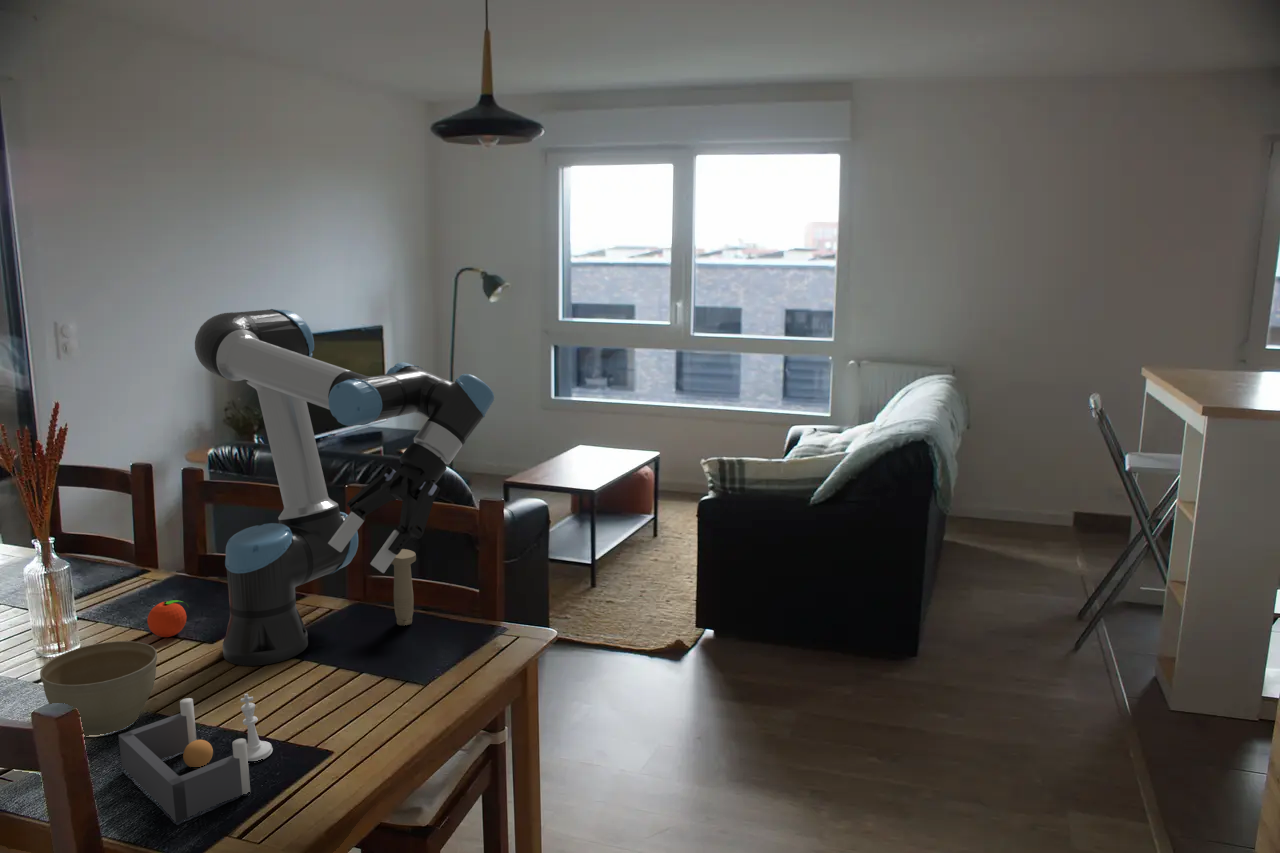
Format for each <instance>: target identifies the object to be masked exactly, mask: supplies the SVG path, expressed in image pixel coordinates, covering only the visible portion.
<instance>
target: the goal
mask: <svg viewBox="0 0 1280 853" xmlns="http://www.w3.org/2000/svg"><path fill="white" fill-rule="evenodd" d="M179 707H180V713H177V714H174V715H171V716H168V717H166V718H163V719H159V720H157V721H155V722H152V723H148V724H146V725H143V726H140V727H137V728H134V729H131V730H129V731H126V732H123V733H120V734H118V744H119V745H118V746H119V753H120V762H121V768H122V767H123V768H124V769H125V770H126V771H127V772H128V773H129V774H130V775H131V776H132V777H133V778H134V779H135V780H136V781H137V782H138V784H140V785H141V787H143V789H145V790H146V791H147V792H148V793H149V794H150V795H151V796H152V797H153V798H154V799H155V800H156V801H157V802H158V803H159V804H160V805H161V806H162V807H163V809H164V810H165V811H166V812H167V813H168V814H169V815H170V816H171V818H172V819H173V820H174V821H175V822H177V821H180V820H182V819H185V818H187V817H190V816H192V815H195V814H197V813H198V812H199V811H203V810H205V809H206V808H210V807H211V806H215V805H216V804H219V803H222V802H224V801H227V800H230V799H233V798H234V797H238V796H240V795H243V794H247V793H248V792H250V793H251V785H250V784H251V783H250V770H249V763H248V755H247V743H248V742H247V739H246V738H237V739H235V740H233V741H232V743H231V744H232V755H230V756H228V757H225V758H222V759H220V760H217V761H215V762H211V763H208V764H206V765H205V766H203V767H200V768H196V769H194V770H192V771H190V772H187V773H185V774H182V775H179V774H177V773H176V771H174V770H173V769H171V767H170V766H168V765H167V764H166V763H165V762H163V761H162V760H161V759H162V758H164V757H168V756H172V755H175V754H177V753H180V752H183V751H184V750H185V748H186V747H187V745H188V744H190V743H191V742H193V741H195V740H198V739H197V730H196V721H195V720H196V718H195V707H194V698H192V697H191V698H190V697H188V698H187V697H186V698H183V699H180V701H179Z"/></svg>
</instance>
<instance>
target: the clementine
mask: <svg viewBox="0 0 1280 853" xmlns="http://www.w3.org/2000/svg"><path fill="white" fill-rule="evenodd" d="M178 602H179V603H178ZM180 603H184V604H186V606H187V608H190V606H189V605H188V604H187V602H184V601H181V600H177V599H176V600H175V599H174V600H173V599H172V600H168V601H162V602H159V603H158V604H156V605H155V606H154V607H152V609H151V610H150V611H149V613H148V615H147V621H146V622H147V626H148V629H149V631H150V632H151V633H153V634H154V635H155V636H157V637H161V638H169V637H173V636H175V635H178V634H179V633H180V632H182V630H183V629H184V627H185V625H186V624H187V618H188V616H187V612H186V610H185V608H184V607H183V606H182V605H181V604H180Z"/></svg>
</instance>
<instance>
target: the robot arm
mask: <svg viewBox="0 0 1280 853" xmlns="http://www.w3.org/2000/svg"><path fill="white" fill-rule="evenodd" d="M314 340H315V339H314V335H313V333H312V330H311V328H310V326H309V325H308V323H307V322H306V321H305V320H304V318H302V316H300V315H298V314H297V313H296V312H294V311H292V310H288V309H276V308H275V309H274V308H271V309H263V310H262V309H261V310H250V311H249V310H247V311H235V312H233V311H232V312H230V311H229V312H222V313H220V314H217V315H214V316H211V317H210V318H209V319H207V320H206V321H205V322H204V323H202V324H201V326H200V327H199V329H198V331H197V333H196V335H195V339H194V350H195V355H196V356H197V359H198V361H199V363H200V364H201V366H203V367H204V368H205V369H206V370H207V371H208V372H210V373H212V374H213V375H216V376H218V377H221V378H223V379H226V380H229V381H232V382H240V381H244V380H245V382H246V384H247V385H248V386H250V387H252V388H253V389H255V390H256V392H257V397H258V401H259V405H260V410H261V414H262V418H263V422H264V428H265V431H266V435H267V440H268V443H269V449H270V452H271V457H272V462H273V465H274V470H275V473H276V477H277V483H278V486H279V491H280V495H281V500H282V504H283V510H282V512H281V513H280V514H279V516H278V517H277V518H278V523H277V522H270V523H263V524H261V525H258V524H257V525H253V526H250V527H246V528H244V529H241V530H240V531H238V532H236V533H235V534H233V535H232V536H231V537H230V538H229V539H228V540H227V543H226V546H225V560H224V567H225V568H226V577H227V578H226V579H227V589H228V601H229V602H228V603H229V618H228V619H229V621H228V623H227V629H226V634H225V637H224V638H223V642H222V653H223V658H224V660H225V661H226V662H228V663H231V664H233V665H237V666H249V667H250V666H251V667H255V666H265V665H271V664H277V663H280V662H284V661H287V660H290V659H291V658H294V657H296V656H298V655H299V654H301V653H303V652H304V651H305V650H306V649H307V647H308V646H309V635H308V630H307V628H306V626H305V624H304V622H303V620H302V616H301V615H300V612H299V610H298V608H297V601H296V587H298V586H301V585H304V584H306V583H307V584H308V583H309V582H311V581H313V580H317V579H319V578H321V577H324V576H327V575H333V574H335V573H336V572H338V571H339V570H340V569H343V568H345V567H346V566H348V565H349V564H350V563H351V562H352V561H353V558H354V557H355V556H356V553H357V551H358V549H359V548H358V547H359V533H358V530H359V529H360V527H361V526H362V525H363V523H364V522H365V521H366V516H368V515H369V514H371V513H372V512H374V511H376V510H378V509H379V508H381V507H382V506H384V505H386V504H387V503H389V502H391V501H392V502H394V501H396V500H398V501H401V510H400V517H399V525H398V526H396V527H395V529H393V531H392V532H391V533H390V535H389V536H388V537H387V539H386V541H385V542H384V544H383V545H382V547H381V548H380V549H379V551H378V552H377V553H376V555H375V556H374V557H373V559H372V560H371V562H370V563H369V564H370V566H372V567H374V569H375V570H378V571H379V572H380V573H382V574H385V572H386V571H387V569H388V568H389V567H390V565H392V564H391V562H392V561H393V560H394V558H395V557H396V555H398V554H399V553H400V551H401V550H402V549H404V547H405V546H406V544H407V543H408V542H409V540H413V539H414V538H417V539H418V540H419V539H421V538H422V537H423V535H424V532H425V530H426V526H427V523H428V520H429V517H430V514H431V511H432V508H433V504H434V501H435V499H436V498H437V496H438V495H439V492H440V490H441V488H440V487H439V486H438V485H437V483H438V482H439V480H440V479H441V478H442V476H443V474H444V473H445V472H446V471H447V465H450V464H452V461H453V459H455V457H456V456H457V454H458V453H459V451H460V450H461V448H462V447H463V446H464V444H465V443H466V441H467V439H468V438H469V437H470V436H471V435H472V433H473V432H474V430H475V429H476V428H477V426H478V425H479V424H480V423H481V422H482V420H483V419H484V418H485V417H486V414H487V413H488V411H489V409H490V407H491V405H492V404H493V403H494V401H495V394H494V392H493V391H492V388H491V387H490V386H489V385H488V384H487V383H486V382H484V381H483V380H482V379H480V378H479V377H477V376H476V375H473V374H470V373H462V374H461V375H459V377H458V378H457V379H455V381H451V380H448V379H445V378H443V377H441V376H439V375H437V374H435V373H433V372H430V371H428V370H426V369H424V368H423V367H421V366H419V365H416V364H412V363H408V362H403V361H402V362H398V363H396V364H395V365H394V366H392V367H390V368H389V369H388V370H387V371H386V373H385V374H380V375H373V376H368V375H365V374H361V373H358V372H355V371H352V370H349V369H346V368H344V367H341V366H339V365H335V364H331V363H328V362H326V361H323V360H319V359H316V358H314V357H313V356H314V355H313V352H314V350H315V341H314ZM308 403H310V404H313V405H315V406H317V407H321V408H324V409H326V410H329V411H330V413H331V415H332V417H334V418H335V419H336V421H337V423H339V424H341V425H343V426H348V427H353V426H366V425H369V424H371V423H375V422H379V421H382V420H387V419H392V418H396V417H401V416H405V415H409V414H414V413H416V414H419V415H421V416H424V417H426V418H428V419H427V421H425V423H424V424H423V425H422V427H421V428H420V430H419V431H418V432H417V433H416V434H415V436H414V437H413V442H412V443H409V445H408V446H407V447H406V448H405V450H404V451H403V453H402V455H401V456H400V457H399V462H400V465H401V467H400V468H399V469H397V470H395V469H394V468H392V466H390V465H388V466H386V467H385V468H384V470H382V472H381V473H380V474H379V475H378V476H377V477H376V478H374V479H373V480H372V481H371V482H370V483H368V484H367V485H365V487H363V489H361V490H360V491H359V492H357V493H356V494H355V495H354V496H353V497H352V498H350V499H349V500H348V501H347V503H346V506H347V507H349V513H348V514H347V513H345V512H343V511H340V506H339V503H338V502H336V501H334V500H333V499H331V498H330V497H329V494H328V489H327V484H326V481H325V477H324V472H323V469H322V464H321V458H320V455H319V450H318V445H317V442H316V436H315V433H314V428H313V424H312V420H311V416H310V412H309V411H310V410H309V407H308Z"/></svg>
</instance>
